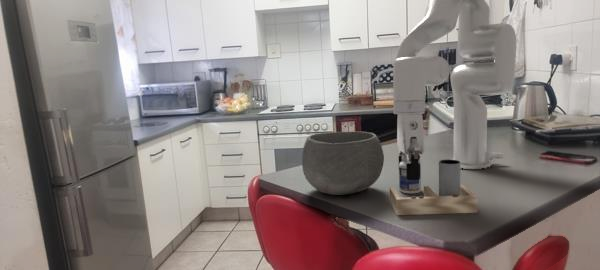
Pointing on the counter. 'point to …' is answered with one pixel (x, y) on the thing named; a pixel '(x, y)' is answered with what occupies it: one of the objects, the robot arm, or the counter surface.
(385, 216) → the counter surface
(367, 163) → the bowl
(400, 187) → the pill bottle
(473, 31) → the robot arm
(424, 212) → the slot rack
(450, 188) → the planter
